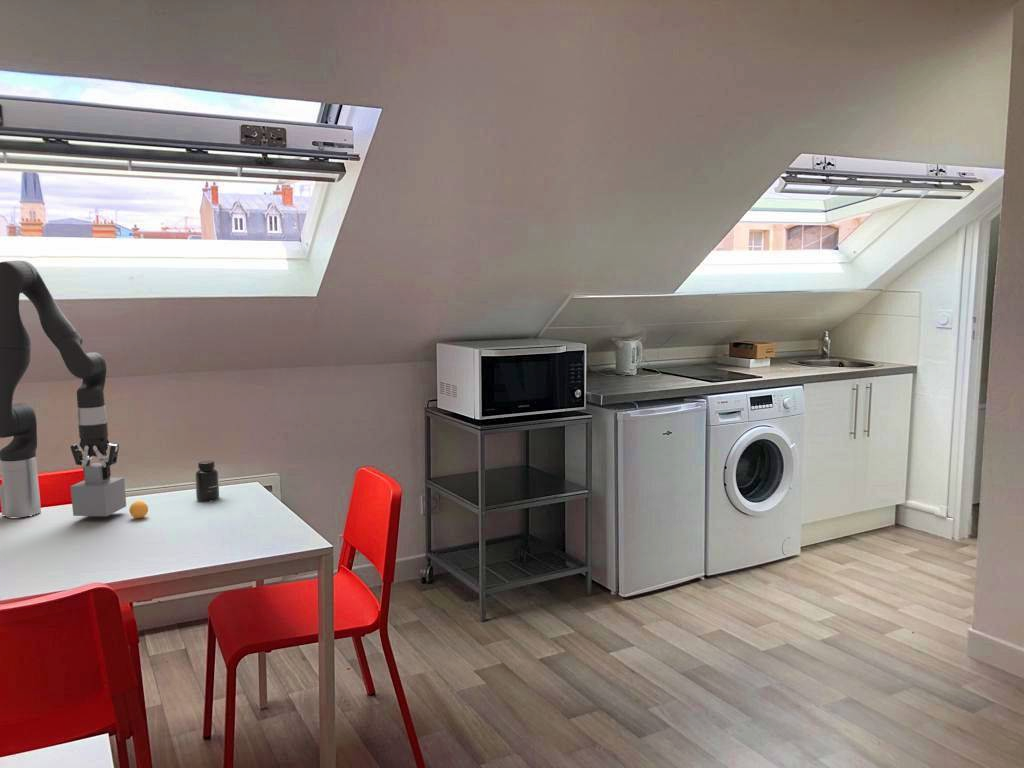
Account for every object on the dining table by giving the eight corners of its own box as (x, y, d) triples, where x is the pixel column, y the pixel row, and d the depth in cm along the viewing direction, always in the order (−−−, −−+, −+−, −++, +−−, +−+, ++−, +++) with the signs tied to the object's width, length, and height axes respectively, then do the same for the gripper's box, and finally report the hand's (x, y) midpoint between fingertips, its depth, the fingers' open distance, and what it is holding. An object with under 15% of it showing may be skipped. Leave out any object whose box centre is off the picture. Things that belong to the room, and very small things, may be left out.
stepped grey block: (73, 515, 242) (69, 469, 241) (94, 505, 253) (90, 460, 251) (106, 516, 241) (102, 469, 240) (126, 506, 251) (122, 461, 250)
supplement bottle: (214, 502, 262) (212, 464, 261) (193, 502, 262) (190, 464, 261) (222, 496, 269) (220, 459, 267) (201, 496, 269) (199, 459, 268)
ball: (126, 520, 244) (125, 503, 243) (135, 515, 249) (134, 498, 248) (142, 520, 243) (141, 503, 243) (152, 515, 248) (150, 499, 248)
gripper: (61, 424, 240) (66, 482, 243) (108, 424, 239) (113, 482, 241) (77, 419, 248) (82, 475, 250) (123, 419, 246) (127, 476, 249)
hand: (97, 478), depth 246 cm, fingers closed on stepped grey block, 4 cm apart
